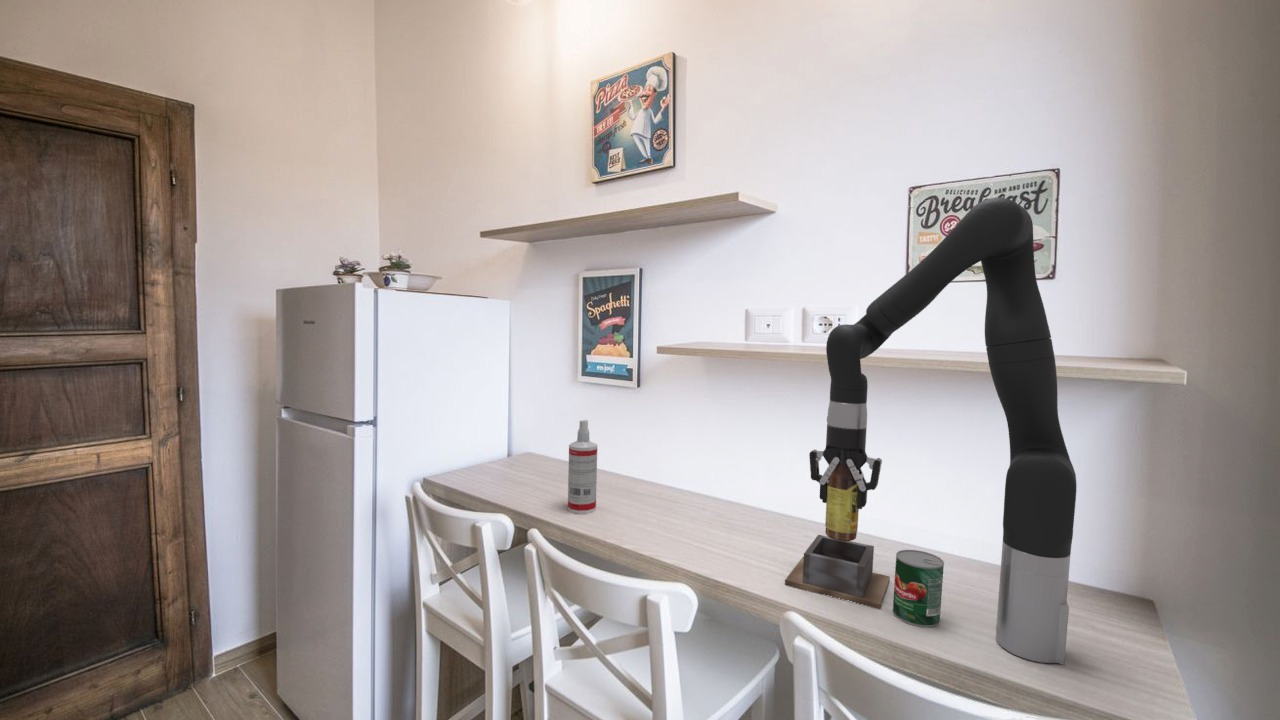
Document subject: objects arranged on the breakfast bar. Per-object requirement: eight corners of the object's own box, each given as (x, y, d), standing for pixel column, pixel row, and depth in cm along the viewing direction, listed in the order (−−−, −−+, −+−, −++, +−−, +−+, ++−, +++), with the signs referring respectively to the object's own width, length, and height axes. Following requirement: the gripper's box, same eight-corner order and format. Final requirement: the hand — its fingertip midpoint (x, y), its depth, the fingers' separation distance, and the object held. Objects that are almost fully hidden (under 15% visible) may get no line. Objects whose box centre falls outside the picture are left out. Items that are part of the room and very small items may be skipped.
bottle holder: (889, 581, 119) (891, 548, 118) (880, 609, 107) (882, 573, 106) (802, 560, 128) (804, 530, 127) (784, 584, 116) (786, 551, 115)
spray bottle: (592, 514, 154) (594, 423, 153) (565, 513, 155) (567, 422, 153) (597, 505, 162) (599, 418, 160) (571, 504, 163) (573, 417, 161)
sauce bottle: (857, 544, 113) (863, 445, 111) (823, 539, 115) (829, 442, 113) (856, 533, 119) (862, 439, 117) (825, 529, 121) (830, 436, 119)
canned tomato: (886, 617, 104) (890, 558, 103) (899, 601, 110) (902, 545, 110) (934, 632, 99) (938, 571, 98) (944, 615, 105) (948, 557, 104)
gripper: (887, 425, 115) (882, 506, 116) (814, 417, 122) (810, 494, 123) (882, 430, 108) (877, 517, 109) (806, 422, 115) (801, 503, 117)
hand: (842, 504), depth 116 cm, fingers closed on sauce bottle, 6 cm apart
